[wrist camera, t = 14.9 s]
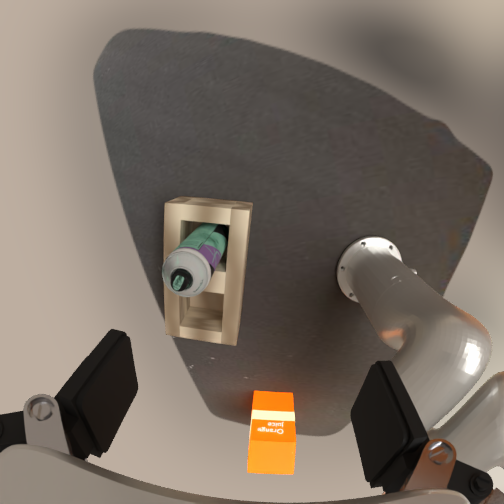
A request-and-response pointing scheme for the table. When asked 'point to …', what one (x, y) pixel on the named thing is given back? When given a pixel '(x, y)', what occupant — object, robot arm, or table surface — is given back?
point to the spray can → (195, 259)
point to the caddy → (223, 279)
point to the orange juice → (272, 434)
